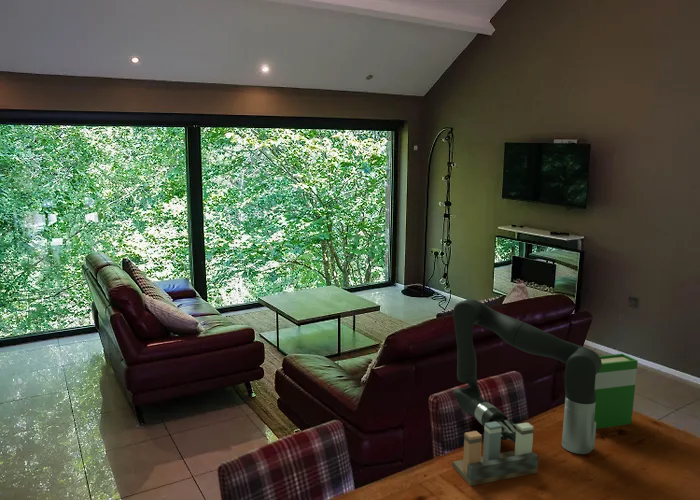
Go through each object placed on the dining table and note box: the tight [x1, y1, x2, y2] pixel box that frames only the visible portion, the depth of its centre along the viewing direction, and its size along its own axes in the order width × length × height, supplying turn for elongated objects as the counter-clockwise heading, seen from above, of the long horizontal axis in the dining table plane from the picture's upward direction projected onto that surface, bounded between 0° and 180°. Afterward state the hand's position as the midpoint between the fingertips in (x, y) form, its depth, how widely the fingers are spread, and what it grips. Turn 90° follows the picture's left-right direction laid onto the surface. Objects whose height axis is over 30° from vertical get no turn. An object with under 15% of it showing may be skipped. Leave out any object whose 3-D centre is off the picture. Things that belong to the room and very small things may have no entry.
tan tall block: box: [462, 430, 483, 474], centre depth 165 cm, size 4×3×12 cm
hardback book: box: [594, 353, 639, 430], centre depth 200 cm, size 18×7×24 cm, turn 106°
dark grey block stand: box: [451, 450, 539, 487], centre depth 170 cm, size 23×11×6 cm, turn 108°
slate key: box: [482, 422, 502, 461], centre depth 172 cm, size 4×3×12 cm
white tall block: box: [514, 422, 535, 456], centre depth 171 cm, size 4×3×12 cm
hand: (520, 442), depth 172 cm, fingers closed
